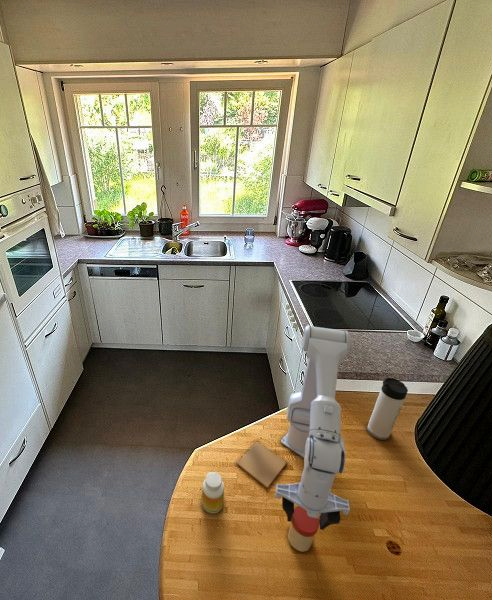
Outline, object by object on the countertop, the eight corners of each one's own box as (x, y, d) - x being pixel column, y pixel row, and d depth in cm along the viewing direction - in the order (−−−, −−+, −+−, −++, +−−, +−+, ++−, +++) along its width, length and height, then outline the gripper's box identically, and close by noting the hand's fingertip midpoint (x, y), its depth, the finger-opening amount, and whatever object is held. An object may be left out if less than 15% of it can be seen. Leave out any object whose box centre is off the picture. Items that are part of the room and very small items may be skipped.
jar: (294, 521, 79) (300, 502, 75) (315, 538, 75) (321, 519, 72) (283, 539, 75) (288, 520, 72) (304, 557, 72) (310, 538, 68)
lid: (298, 504, 76) (300, 499, 75) (322, 522, 72) (323, 517, 71) (286, 523, 72) (287, 518, 71) (310, 543, 69) (311, 538, 68)
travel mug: (363, 422, 105) (379, 375, 96) (384, 424, 104) (403, 377, 95) (369, 438, 100) (388, 390, 90) (392, 441, 99) (413, 392, 89)
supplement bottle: (221, 516, 80) (223, 492, 75) (200, 511, 81) (200, 487, 76) (224, 494, 84) (226, 471, 80) (203, 490, 85) (204, 467, 81)
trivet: (257, 442, 98) (257, 441, 98) (286, 463, 92) (286, 462, 92) (237, 464, 92) (237, 463, 92) (267, 488, 86) (267, 487, 86)
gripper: (278, 493, 64) (270, 531, 70) (358, 512, 60) (342, 550, 67) (279, 462, 70) (272, 499, 76) (351, 477, 66) (337, 515, 73)
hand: (304, 520), depth 72 cm, fingers open, 6 cm apart
